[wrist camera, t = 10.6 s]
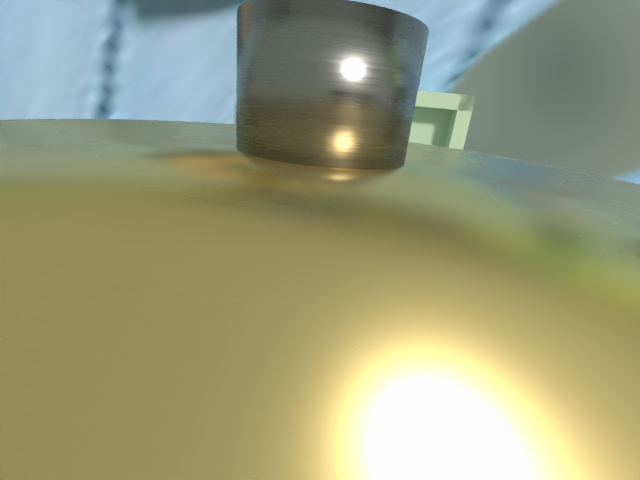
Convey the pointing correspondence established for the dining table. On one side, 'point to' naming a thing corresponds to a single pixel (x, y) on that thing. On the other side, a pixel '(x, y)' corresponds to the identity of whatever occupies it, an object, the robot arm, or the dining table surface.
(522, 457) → the gold disc post
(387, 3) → the dining table surface
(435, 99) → the tray
